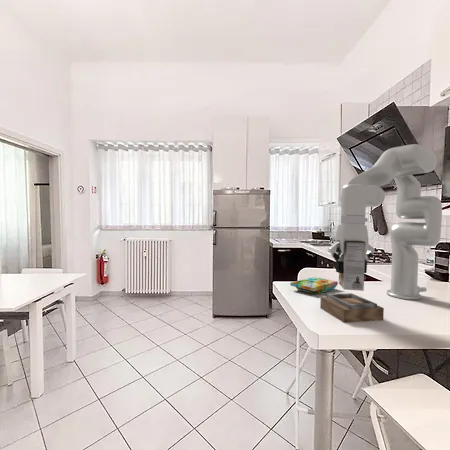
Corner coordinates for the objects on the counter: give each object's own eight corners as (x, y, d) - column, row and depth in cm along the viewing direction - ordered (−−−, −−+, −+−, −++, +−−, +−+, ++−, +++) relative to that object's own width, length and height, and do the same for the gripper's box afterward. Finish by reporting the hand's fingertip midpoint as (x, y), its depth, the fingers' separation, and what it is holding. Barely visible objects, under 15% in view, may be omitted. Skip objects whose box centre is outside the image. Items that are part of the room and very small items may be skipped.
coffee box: (337, 283, 99) (339, 238, 99) (356, 284, 98) (358, 239, 98) (343, 289, 90) (345, 240, 90) (364, 291, 89) (366, 241, 89)
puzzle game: (337, 279, 128) (313, 285, 115) (337, 290, 128) (313, 297, 115) (315, 275, 137) (290, 280, 124) (314, 285, 137) (290, 291, 124)
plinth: (355, 306, 102) (355, 292, 102) (383, 320, 89) (383, 304, 88) (320, 308, 100) (320, 293, 100) (343, 322, 86) (344, 305, 86)
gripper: (367, 221, 99) (366, 270, 99) (323, 220, 96) (321, 270, 96) (383, 221, 91) (381, 274, 92) (335, 220, 88) (334, 275, 89)
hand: (351, 272), depth 94 cm, fingers closed on coffee box, 8 cm apart
